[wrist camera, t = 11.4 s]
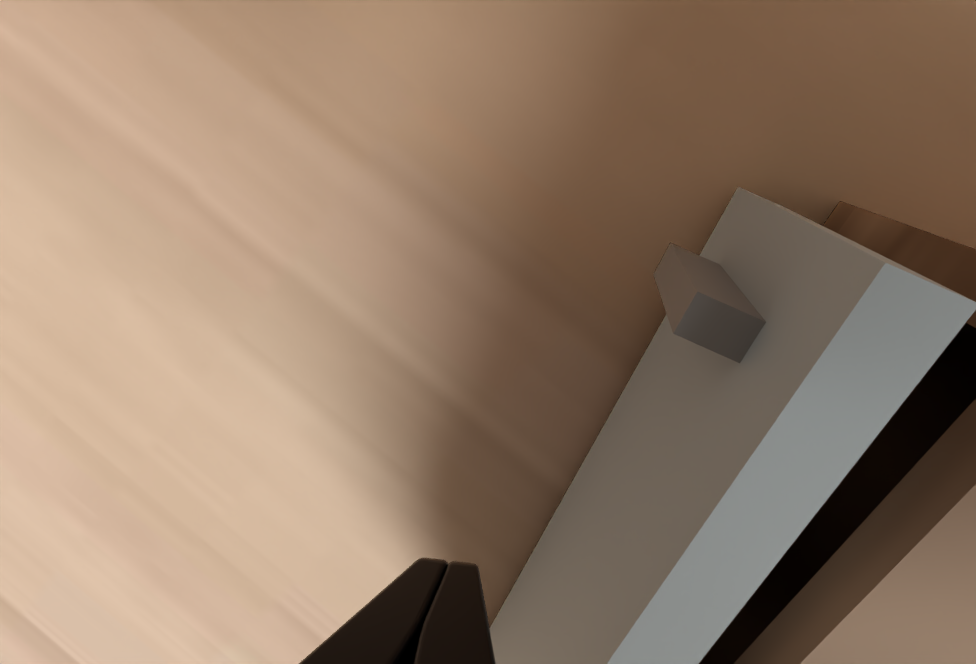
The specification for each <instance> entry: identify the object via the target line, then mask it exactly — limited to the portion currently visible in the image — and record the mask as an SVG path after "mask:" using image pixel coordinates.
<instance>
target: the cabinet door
mask: <svg viewBox="0 0 976 664" xmlns="http://www.w3.org/2000/svg"><path fill="white" fill-rule="evenodd" d="M653 275H654V278H655V281H656V284H657V287H658V290H659V293H660V296H661V299H662V302H663V305H664V308H665V311H666V316H665V317H664V319H663V321H662V323H661V324H660V326H659V328H658V330H657V332H656V333H655V335H654V337H653V339H652V340H651V342H650V344H649V346H648V348H647V349H646V351H645V353H644V355H643V356H642V358H641V360H640V362H639V364H638V365H637V367H636V369H635V371H634V372H633V374H632V376H631V378H630V380H629V381H628V383H627V385H626V387H625V388H624V390H623V392H622V394H621V396H620V397H619V399H618V401H617V403H616V404H615V406H614V408H613V410H612V412H611V413H610V415H609V417H608V419H607V420H606V422H605V424H604V426H603V428H602V429H601V431H600V433H599V435H598V436H597V438H596V440H595V442H594V444H593V445H592V447H591V449H590V451H589V452H588V454H587V456H586V458H585V460H584V461H583V463H582V465H581V467H580V468H579V470H578V472H577V474H576V476H575V477H574V479H573V481H572V483H571V484H570V486H569V488H568V490H567V492H566V493H565V495H564V497H563V499H562V500H561V502H560V504H559V506H558V508H557V509H556V511H555V513H554V515H553V516H552V518H551V520H550V522H549V524H548V525H547V527H546V529H545V531H544V532H543V534H542V536H541V538H540V540H539V541H538V543H537V545H536V547H535V548H534V550H533V552H532V554H531V556H530V557H529V559H528V561H527V563H526V564H525V566H524V568H523V570H522V572H521V573H520V575H519V577H518V579H517V580H516V582H515V584H514V586H513V588H512V589H511V591H510V593H509V595H508V596H507V598H506V600H505V602H504V604H503V605H502V607H501V609H500V611H499V612H498V614H497V616H496V618H495V620H494V621H493V623H492V625H491V627H490V628H489V629H490V634H491V640H492V645H493V651H494V656H495V662H496V664H699V662H700V661H701V660H702V659H703V657H704V656H705V655H706V653H707V652H708V651H709V650H710V648H711V647H712V646H713V645H714V643H715V642H716V641H717V639H718V638H719V637H720V636H721V634H722V633H723V632H724V631H725V629H726V628H727V627H728V625H729V624H730V623H731V622H732V620H733V619H734V618H735V616H736V615H737V614H738V613H739V611H740V610H741V609H742V608H743V606H744V605H745V604H746V602H747V601H748V600H749V599H750V597H751V596H752V595H753V594H754V592H755V591H756V590H757V588H758V587H759V586H760V585H761V583H762V582H763V581H764V579H765V578H766V577H767V576H768V574H769V573H770V572H771V571H772V569H773V568H774V567H775V565H776V564H777V563H778V562H779V560H780V559H781V558H782V556H783V555H784V554H785V553H786V551H787V550H788V549H789V548H790V546H791V545H792V544H793V542H794V541H795V540H796V539H797V537H798V536H799V535H800V534H801V532H802V531H803V530H804V528H805V527H806V526H807V525H808V523H809V522H810V521H811V519H812V518H813V517H814V516H815V514H816V513H817V512H818V511H819V509H820V508H821V507H822V505H823V504H824V503H825V502H826V500H827V499H828V498H829V497H830V495H831V494H832V493H833V491H834V490H835V489H836V488H837V486H838V485H839V484H840V482H841V481H842V480H843V479H844V477H845V476H846V475H847V474H848V472H849V471H850V470H851V468H852V467H853V466H854V465H855V463H856V462H857V461H858V460H859V458H860V457H861V456H862V454H863V453H864V452H865V451H866V449H867V448H868V447H869V445H870V444H871V443H872V442H873V440H874V439H875V438H876V437H877V435H878V434H879V433H880V431H881V430H882V429H883V428H884V426H885V425H886V424H887V422H888V421H889V420H890V419H891V417H892V416H893V415H894V414H895V412H896V411H897V410H898V408H899V407H900V406H901V405H902V403H903V402H904V401H905V400H906V398H907V397H908V396H909V394H910V393H911V392H912V391H913V389H914V388H915V387H916V385H917V384H918V383H919V382H920V380H921V379H922V378H923V377H924V375H925V374H926V373H927V371H928V370H929V369H930V368H931V366H932V365H933V364H934V363H935V361H936V360H937V359H938V357H939V356H940V355H941V354H942V352H943V351H944V350H945V348H946V347H947V346H948V345H949V343H950V342H951V341H952V340H953V338H954V337H955V336H956V334H957V333H958V332H959V331H960V329H961V328H962V327H963V325H964V324H965V323H966V322H967V320H968V319H969V318H970V317H971V315H972V314H973V313H974V311H975V310H976V302H975V301H973V300H971V299H969V298H967V297H965V296H963V295H961V294H959V293H957V292H955V291H953V290H951V289H949V288H947V287H945V286H942V285H940V284H938V283H936V282H934V281H932V280H930V279H928V278H926V277H924V276H922V275H920V274H918V273H916V272H914V271H912V270H910V269H908V268H906V267H904V266H902V265H900V264H898V263H896V262H894V261H892V260H890V259H888V258H886V257H884V256H882V255H880V254H878V253H876V252H874V251H872V250H870V249H868V248H866V247H864V246H862V245H860V244H858V243H856V242H854V241H852V240H850V239H848V238H846V237H844V236H842V235H840V234H838V233H836V232H834V231H832V230H830V229H828V228H826V227H824V226H822V225H820V224H818V223H816V222H814V221H812V220H810V219H808V218H806V217H804V216H802V215H800V214H798V213H796V212H794V211H792V210H790V209H787V208H785V207H783V206H781V205H779V204H777V203H774V202H772V201H770V200H768V199H765V198H763V197H761V196H758V195H756V194H754V193H752V192H749V191H747V190H745V189H743V188H740V187H738V188H737V189H736V191H735V193H734V195H733V197H732V198H731V200H730V202H729V204H728V205H727V207H726V209H725V211H724V213H723V214H722V216H721V218H720V220H719V221H718V223H717V225H716V227H715V228H714V230H713V232H712V234H711V236H710V237H709V239H708V241H707V243H706V244H705V246H704V248H703V250H702V252H701V253H700V255H697V254H695V253H693V252H690V251H688V250H686V249H684V248H681V247H679V246H677V245H675V244H672V243H670V244H669V246H668V248H667V250H666V252H665V254H664V255H663V257H662V259H661V261H660V263H659V265H658V267H657V269H656V270H655V272H654V274H653Z"/></svg>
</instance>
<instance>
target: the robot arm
mask: <svg viewBox="0 0 976 664" xmlns="http://www.w3.org/2000/svg"><path fill="white" fill-rule="evenodd" d="M299 664H496V662H495V656H494V651H493V645H492V640H491V634H490V629H489V623H488V618H487V612H486V607H485V601H484V596H483V590H482V585H481V579H480V574H479V569H478V566H477V565H476V564H473V563H465V562H456V561H453V562H451V563H449V564H448V563H447V562H446V561H445V560H440V559H431V558H420V559H418V560H417V561H416V562H414V563H413V564H412V565H411V566H410V567H409V568H408V569H406V570H405V571H404V572H403V573H402V574H401V575H400V576H398V577H397V578H396V579H395V580H394V581H393V582H392V583H390V584H389V585H388V586H387V587H386V588H385V589H384V590H383V591H381V592H380V593H379V594H378V595H377V596H376V597H375V598H373V599H372V600H371V601H370V602H369V603H368V604H367V605H365V606H364V607H363V608H362V609H361V610H360V611H359V612H357V613H356V614H355V615H354V616H353V617H352V618H351V619H349V620H348V621H347V622H346V623H345V624H344V625H343V626H341V627H340V628H339V629H338V630H337V631H336V632H335V633H333V634H332V635H331V636H330V637H329V638H328V639H327V640H325V641H324V642H323V643H322V644H321V645H320V646H319V647H317V648H316V649H315V650H314V651H313V652H312V653H311V654H309V655H308V656H307V657H306V658H305V659H304V660H303V661H301V662H300V663H299Z"/></svg>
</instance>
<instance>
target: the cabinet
mask: <svg viewBox="0 0 976 664" xmlns="http://www.w3.org/2000/svg"><path fill="white" fill-rule="evenodd" d="M823 226H824V227H826V228H828V229H830V230H832V231H834V232H836V233H838V234H840V235H842V236H844V237H846V238H848V239H850V240H852V241H854V242H856V243H858V244H860V245H862V246H864V247H866V248H868V249H870V250H872V251H874V252H876V253H878V254H880V255H882V256H884V257H886V258H888V259H890V260H892V261H894V262H896V263H898V264H900V265H902V266H904V267H906V268H908V269H910V270H912V271H914V272H916V273H918V274H920V275H922V276H924V277H926V278H928V279H930V280H932V281H934V282H936V283H938V284H940V285H942V286H945V287H947V288H949V289H951V290H953V291H955V292H957V293H959V294H961V295H963V296H965V297H967V298H969V299H971V300H973V301H975V302H976V249H973V248H970V247H967V246H964V245H962V244H959V243H956V242H953V241H950V240H948V239H945V238H942V237H939V236H936V235H934V234H931V233H928V232H925V231H922V230H920V229H917V228H914V227H911V226H908V225H906V224H903V223H900V222H897V221H894V220H892V219H889V218H886V217H883V216H880V215H878V214H875V213H872V212H869V211H866V210H864V209H861V208H858V207H855V206H852V205H850V204H847V203H844V202H841V201H840V202H839V203H838V205H837V206H836V208H835V209H834V211H833V212H832V213H831V215H830V216H829V218H828V219H827V221H826V222H825V223H824V225H823ZM699 664H976V310H975V311H974V313H973V314H972V315H971V317H970V318H969V319H968V320H967V322H966V323H965V324H964V325H963V327H962V328H961V329H960V331H959V332H958V333H957V334H956V336H955V337H954V338H953V340H952V341H951V342H950V343H949V345H948V346H947V347H946V348H945V350H944V351H943V352H942V354H941V355H940V356H939V357H938V359H937V360H936V361H935V363H934V364H933V365H932V366H931V368H930V369H929V370H928V371H927V373H926V374H925V375H924V377H923V378H922V379H921V380H920V382H919V383H918V384H917V385H916V387H915V388H914V389H913V391H912V392H911V393H910V394H909V396H908V397H907V398H906V400H905V401H904V402H903V403H902V405H901V406H900V407H899V408H898V410H897V411H896V412H895V414H894V415H893V416H892V417H891V419H890V420H889V421H888V422H887V424H886V425H885V426H884V428H883V429H882V430H881V431H880V433H879V434H878V435H877V437H876V438H875V439H874V440H873V442H872V443H871V444H870V445H869V447H868V448H867V449H866V451H865V452H864V453H863V454H862V456H861V457H860V458H859V460H858V461H857V462H856V463H855V465H854V466H853V467H852V468H851V470H850V471H849V472H848V474H847V475H846V476H845V477H844V479H843V480H842V481H841V482H840V484H839V485H838V486H837V488H836V489H835V490H834V491H833V493H832V494H831V495H830V497H829V498H828V499H827V500H826V502H825V503H824V504H823V505H822V507H821V508H820V509H819V511H818V512H817V513H816V514H815V516H814V517H813V518H812V519H811V521H810V522H809V523H808V525H807V526H806V527H805V528H804V530H803V531H802V532H801V534H800V535H799V536H798V537H797V539H796V540H795V541H794V542H793V544H792V545H791V546H790V548H789V549H788V550H787V551H786V553H785V554H784V555H783V556H782V558H781V559H780V560H779V562H778V563H777V564H776V565H775V567H774V568H773V569H772V571H771V572H770V573H769V574H768V576H767V577H766V578H765V579H764V581H763V582H762V583H761V585H760V586H759V587H758V588H757V590H756V591H755V592H754V594H753V595H752V596H751V597H750V599H749V600H748V601H747V602H746V604H745V605H744V606H743V608H742V609H741V610H740V611H739V613H738V614H737V615H736V616H735V618H734V619H733V620H732V622H731V623H730V624H729V625H728V627H727V628H726V629H725V631H724V632H723V633H722V634H721V636H720V637H719V638H718V639H717V641H716V642H715V643H714V645H713V646H712V647H711V648H710V650H709V651H708V652H707V653H706V655H705V656H704V657H703V659H702V660H701V661H700V662H699Z"/></svg>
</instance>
